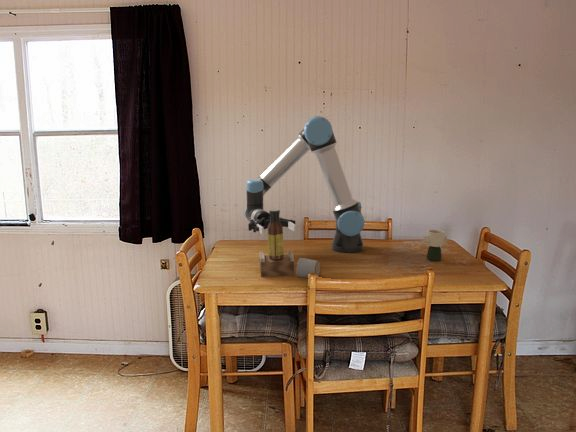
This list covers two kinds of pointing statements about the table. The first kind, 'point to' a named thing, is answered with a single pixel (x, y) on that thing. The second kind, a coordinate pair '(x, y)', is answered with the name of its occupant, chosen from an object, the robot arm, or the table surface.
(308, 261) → the ceramic mug
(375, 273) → the table surface
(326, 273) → the table surface
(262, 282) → the table surface
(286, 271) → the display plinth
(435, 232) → the character mug
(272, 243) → the sauce bottle
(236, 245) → the table surface
